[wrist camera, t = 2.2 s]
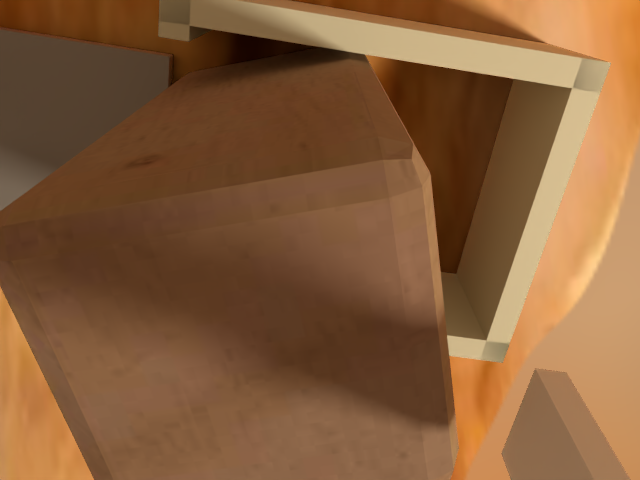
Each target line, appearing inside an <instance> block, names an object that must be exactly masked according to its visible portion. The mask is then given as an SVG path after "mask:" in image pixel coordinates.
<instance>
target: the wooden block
mask: <svg viewBox="0 0 640 480" xmlns="http://www.w3.org/2000/svg"><path fill="white" fill-rule="evenodd" d="M0 286H1V288H2V290H3V292H4V295H5V297H6V299H7V301H8V303H9V305H10V307H11V309H12V311H13V313H14V315H15V317H16V319H17V321H18V323H19V325H20V327H21V329H22V332H23V334H24V336H25V338H26V340H27V342H28V344H29V346H30V348H31V350H32V352H33V354H34V356H35V358H36V360H37V362H38V364H39V367H40V369H41V371H42V373H43V375H44V377H45V379H46V381H47V383H48V385H49V387H50V389H51V391H52V393H53V395H54V397H55V399H56V402H57V404H58V406H59V408H60V410H61V412H62V414H63V416H64V418H65V420H66V422H67V424H68V426H69V428H70V430H71V432H72V434H73V436H74V439H75V441H76V443H77V445H78V447H79V449H80V451H81V453H82V455H83V457H84V459H85V461H86V463H87V465H88V467H89V469H90V471H91V474H92V476H93V478H94V480H450V479H451V476H452V473H453V470H454V466H455V461H456V457H457V453H458V449H459V446H458V437H457V427H456V417H455V407H454V398H453V388H452V378H451V368H450V359H449V349H448V339H447V329H446V320H445V310H444V300H443V291H442V281H441V271H440V261H439V252H438V242H437V232H436V222H435V213H434V203H433V193H432V183H431V174H430V172H429V170H428V168H427V166H426V164H425V163H424V161H423V159H422V157H421V155H420V154H419V152H418V150H417V148H416V146H415V144H414V143H413V141H412V139H411V137H410V135H409V134H408V132H407V130H406V128H405V126H404V125H403V123H402V121H401V119H400V117H399V116H398V114H397V112H396V110H395V108H394V106H393V105H392V103H391V101H390V99H389V97H388V96H387V94H386V92H385V90H384V88H383V87H382V85H381V83H380V81H379V79H378V78H377V76H376V74H375V72H374V70H373V69H372V67H371V65H370V63H369V61H368V59H367V58H366V56H365V54H360V53H353V52H347V51H341V50H335V49H329V48H323V47H320V48H314V49H309V50H304V51H299V52H293V53H288V54H283V55H278V56H272V57H267V58H262V59H257V60H251V61H246V62H241V63H236V64H230V65H225V66H220V67H215V68H209V69H204V70H199V71H194V72H189V73H188V74H186V75H185V76H184V77H182V78H181V79H179V80H178V81H177V82H175V83H174V84H172V85H171V86H170V87H168V88H167V89H166V90H164V91H163V92H162V93H160V94H159V95H157V96H156V97H155V98H153V99H152V100H151V101H149V102H148V103H147V104H145V105H144V106H143V107H141V108H140V109H138V110H137V111H136V112H134V113H133V114H132V115H130V116H129V117H128V118H126V119H125V120H124V121H122V122H121V123H119V124H118V125H117V126H115V127H114V128H113V129H111V130H110V131H109V132H107V133H106V134H104V135H103V136H102V137H100V138H99V139H98V140H96V141H95V142H94V143H92V144H91V145H90V146H88V147H87V148H85V149H84V150H83V151H81V152H80V153H79V154H77V155H76V156H75V157H73V158H72V159H70V160H69V161H68V162H66V163H65V164H64V165H62V166H61V167H60V168H58V169H57V170H56V171H54V172H53V173H51V174H50V175H49V176H47V177H46V178H45V179H43V180H42V181H41V182H39V183H38V184H37V185H35V186H34V187H32V188H31V189H30V190H28V191H27V192H26V193H24V194H23V195H22V196H20V197H19V198H17V199H16V200H15V201H13V202H12V203H11V204H9V205H8V206H7V207H5V208H4V209H3V210H1V211H0Z"/></svg>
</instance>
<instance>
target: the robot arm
mask: <svg viewBox="0 0 640 480" xmlns="http://www.w3.org/2000/svg"><path fill="white" fill-rule="evenodd" d="M502 456H503V459H504V462H505V464H506V467H507V470H508V472H509V475H510V478H511V480H630V478H629V476H628V475H627V473H626V471H625V470H624V468H623V466H622V465H621V463H620V461H619V460H618V458H617V456H616V455H615V453H614V451H613V450H612V448H611V446H610V445H609V443H608V441H607V440H606V438H605V436H604V435H603V433H602V431H601V430H600V428H599V426H598V425H597V423H596V421H595V420H594V418H593V417H592V415H591V413H590V411H589V409H588V408H587V406H586V404H585V403H584V401H583V399H582V398H581V396H580V394H579V393H578V391H577V389H576V388H575V386H574V384H573V383H572V381H571V379H570V378H569V376H568V374H567V373H565V372H558V371H551V370H543V369H535V370H534V373H533V375H532V378H531V380H530V383H529V385H528V388H527V390H526V393H525V395H524V398H523V400H522V403H521V406H520V408H519V411H518V413H517V416H516V418H515V421H514V423H513V426H512V428H511V431H510V434H509V436H508V438H507V441H506V443H505V446H504V448H503V451H502Z"/></svg>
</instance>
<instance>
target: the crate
mask: <svg viewBox="0 0 640 480" xmlns="http://www.w3.org/2000/svg"><path fill="white" fill-rule="evenodd" d="M211 30H219V31H225V32H231V33H237V34H243V35H250V36H256V37H262V38H268V39H274V40H280V41H286V42H292V43H298V44H305V45H311V46H317V47H323V48H329V49H335V50H341V51H347V52H353V53H360V54H366V55H372V56H378V57H384V58H390V59H396V60H402V61H408V62H415V63H421V64H427V65H433V66H439V67H445V68H451V69H457V70H463V71H470V72H476V73H482V74H488V75H494V76H500V77H506V78H512V79H513V83H512V86H511V89H510V93H509V96H508V100H507V103H506V106H505V110H504V113H503V117H502V120H501V123H500V127H499V130H498V134H497V137H496V140H495V144H494V147H493V151H492V154H491V157H490V161H489V164H488V168H487V171H486V174H485V178H484V181H483V185H482V188H481V191H480V195H479V198H478V202H477V205H476V208H475V212H474V215H473V219H472V222H471V225H470V229H469V232H468V236H467V239H466V242H465V246H464V249H463V253H462V256H461V259H460V263H459V266H458V270H457V273H456V274H454V273H447V272H441V281H442V291H443V300H444V310H445V320H446V329H447V339H448V349H449V356H455V357H463V358H470V359H478V360H486V361H493V362H501V363H503V360H504V358H505V355H506V352H507V349H508V347H509V344H510V341H511V338H512V335H513V333H514V330H515V327H516V324H517V322H518V319H519V316H520V313H521V311H522V308H523V305H524V302H525V300H526V297H527V294H528V291H529V288H530V286H531V283H532V280H533V277H534V275H535V272H536V269H537V266H538V264H539V261H540V258H541V255H542V253H543V250H544V247H545V244H546V241H547V239H548V236H549V233H550V230H551V228H552V225H553V222H554V219H555V217H556V214H557V211H558V208H559V206H560V203H561V200H562V197H563V194H564V192H565V189H566V186H567V183H568V181H569V178H570V175H571V172H572V170H573V167H574V164H575V161H576V159H577V156H578V153H579V150H580V147H581V145H582V142H583V139H584V136H585V134H586V131H587V128H588V125H589V123H590V120H591V117H592V114H593V112H594V109H595V106H596V103H597V100H598V98H599V95H600V92H601V89H602V87H603V84H604V81H605V78H606V76H607V73H608V70H609V67H610V65H611V63H610V62H607V61H603V60H600V59H597V58H593V57H590V56H587V55H583V54H580V53H577V52H574V51H570V50H567V49H564V48H560V47H557V46H554V45H550V44H547V43H541V42H535V41H529V40H523V39H517V38H511V37H505V36H499V35H493V34H487V33H481V32H475V31H469V30H464V29H458V28H452V27H446V26H440V25H434V24H428V23H422V22H416V21H410V20H404V19H398V18H392V17H386V16H380V15H374V14H368V13H363V12H357V11H351V10H345V9H339V8H333V7H327V6H321V5H315V4H309V3H303V2H297V1H291V0H159V29H158V37H163V38H169V39H175V40H181V41H188V42H189V41H191V40H193V39H195V38H197V37H199V36H201V35H203V34H205V33H207V32H209V31H211Z"/></svg>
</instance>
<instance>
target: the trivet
mask: <svg viewBox="0 0 640 480" xmlns="http://www.w3.org/2000/svg"><path fill="white" fill-rule="evenodd" d="M172 68H173V54H167V53H160V52H154V51H148V50H142V49H135V48H129V47H123V46H117V45H110V44H104V43H98V42H92V41H85V40H79V39H73V38H67V37H60V36H54V35H48V34H42V33H35V32H29V31H23V30H17V29H10V28H4V27H0V211H1V210H3V209H4V208H5V207H7V206H8V205H9V204H11V203H12V202H13V201H15V200H16V199H17V198H19V197H20V196H22V195H23V194H24V193H26V192H27V191H28V190H30V189H31V188H32V187H34V186H35V185H37V184H38V183H39V182H41V181H42V180H43V179H45V178H46V177H47V176H49V175H50V174H51V173H53V172H54V171H56V170H57V169H58V168H60V167H61V166H62V165H64V164H65V163H66V162H68V161H69V160H70V159H72V158H73V157H75V156H76V155H77V154H79V153H80V152H81V151H83V150H84V149H85V148H87V147H88V146H90V145H91V144H92V143H94V142H95V141H96V140H98V139H99V138H100V137H102V136H103V135H104V134H106V133H107V132H109V131H110V130H111V129H113V128H114V127H115V126H117V125H118V124H119V123H121V122H122V121H124V120H125V119H126V118H128V117H129V116H130V115H132V114H133V113H134V112H136V111H137V110H138V109H140V108H141V107H143V106H144V105H145V104H147V103H148V102H149V101H151V100H152V99H153V98H155V97H156V96H157V95H159V94H160V93H162V92H163V91H164V90H166V89H167V88H168V87H170V86H171V85H172Z"/></svg>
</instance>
